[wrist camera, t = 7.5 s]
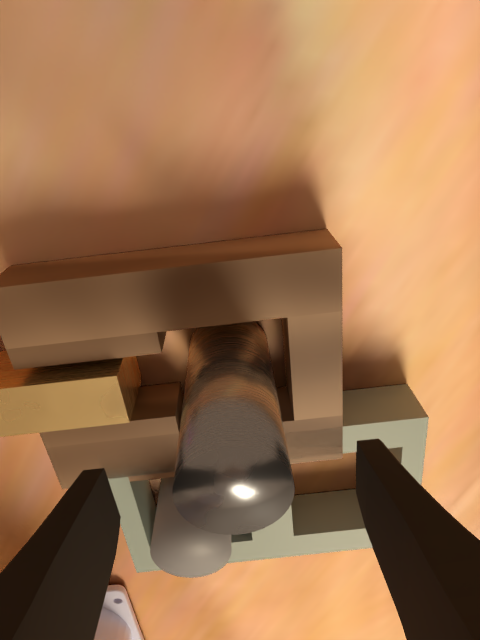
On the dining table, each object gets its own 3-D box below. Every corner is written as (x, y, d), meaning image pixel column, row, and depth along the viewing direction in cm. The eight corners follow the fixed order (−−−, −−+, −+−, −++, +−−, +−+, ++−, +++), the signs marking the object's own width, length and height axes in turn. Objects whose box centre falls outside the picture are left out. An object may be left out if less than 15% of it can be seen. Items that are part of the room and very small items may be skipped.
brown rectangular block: (141, 378, 20) (129, 422, 17) (-12, 395, 20) (-47, 442, 18) (131, 336, 19) (116, 375, 16) (-31, 354, 19) (-71, 396, 16)
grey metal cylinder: (270, 375, 20) (297, 528, 13) (196, 383, 20) (183, 540, 13) (264, 308, 19) (291, 440, 12) (183, 317, 19) (161, 454, 12)
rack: (398, 503, 24) (432, 584, 20) (144, 531, 25) (129, 616, 21) (407, 383, 21) (451, 453, 17) (109, 416, 21) (83, 493, 17)
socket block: (330, 422, 22) (342, 458, 19) (77, 450, 22) (62, 489, 20) (327, 228, 17) (342, 248, 15) (11, 265, 17) (-19, 289, 15)
